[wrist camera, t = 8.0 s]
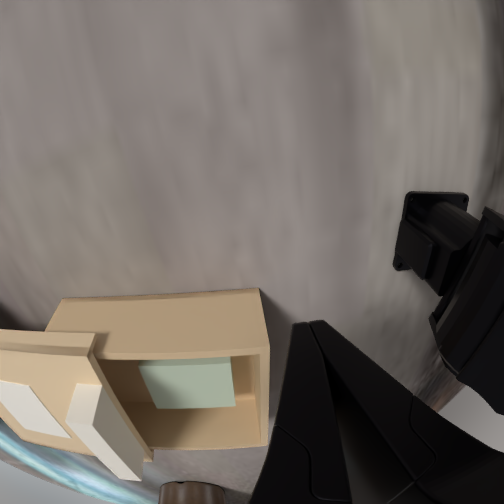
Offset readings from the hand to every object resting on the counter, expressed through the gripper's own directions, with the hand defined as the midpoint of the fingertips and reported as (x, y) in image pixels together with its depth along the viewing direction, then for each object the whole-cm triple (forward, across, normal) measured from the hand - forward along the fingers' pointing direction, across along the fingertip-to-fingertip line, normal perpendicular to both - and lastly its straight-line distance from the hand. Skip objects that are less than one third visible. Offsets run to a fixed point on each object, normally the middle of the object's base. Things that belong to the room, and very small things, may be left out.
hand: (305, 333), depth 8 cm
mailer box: (+13, +8, +15) cm, 21 cm away
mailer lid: (+8, +19, +15) cm, 25 cm away
